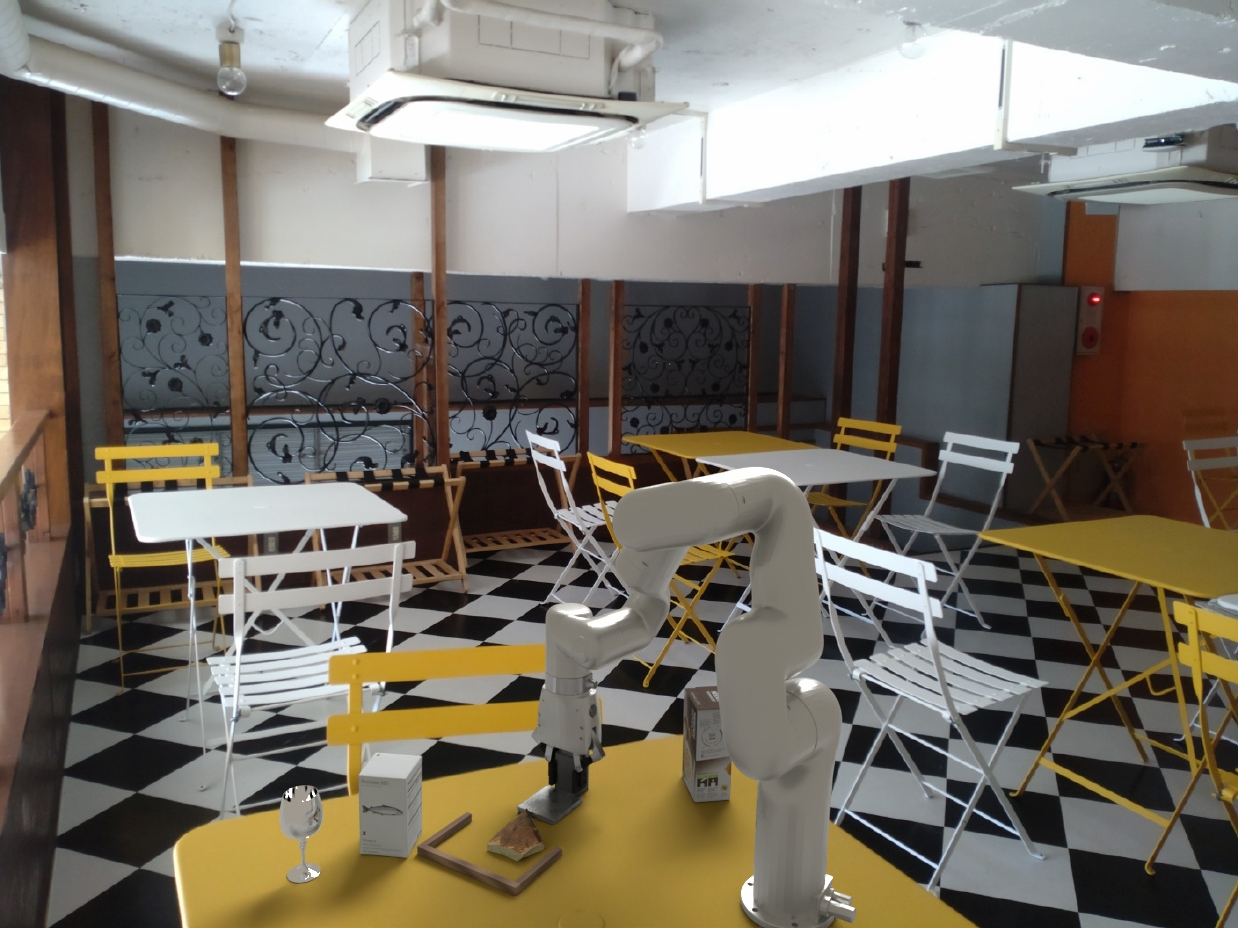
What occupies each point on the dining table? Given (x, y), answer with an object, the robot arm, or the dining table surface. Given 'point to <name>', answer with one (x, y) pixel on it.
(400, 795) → the supplement box
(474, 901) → the dining table surface
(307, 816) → the wineglass
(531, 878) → the frame
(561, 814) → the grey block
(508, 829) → the shard
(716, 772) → the coffee box
